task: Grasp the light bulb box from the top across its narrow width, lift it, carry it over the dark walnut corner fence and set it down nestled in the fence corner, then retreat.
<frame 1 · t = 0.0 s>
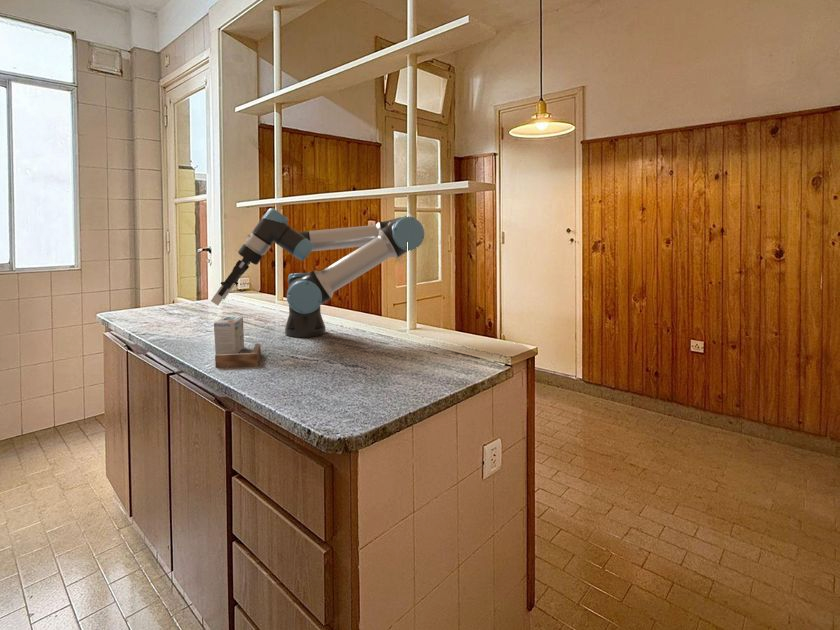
hand: (217, 300, 176), 15 cm above the worktop, tool tilted 35°, fingers open, 13 cm apart
walnut corner fence: (238, 360, 157), on the worktop
light bulb box: (230, 352, 168), on the worktop
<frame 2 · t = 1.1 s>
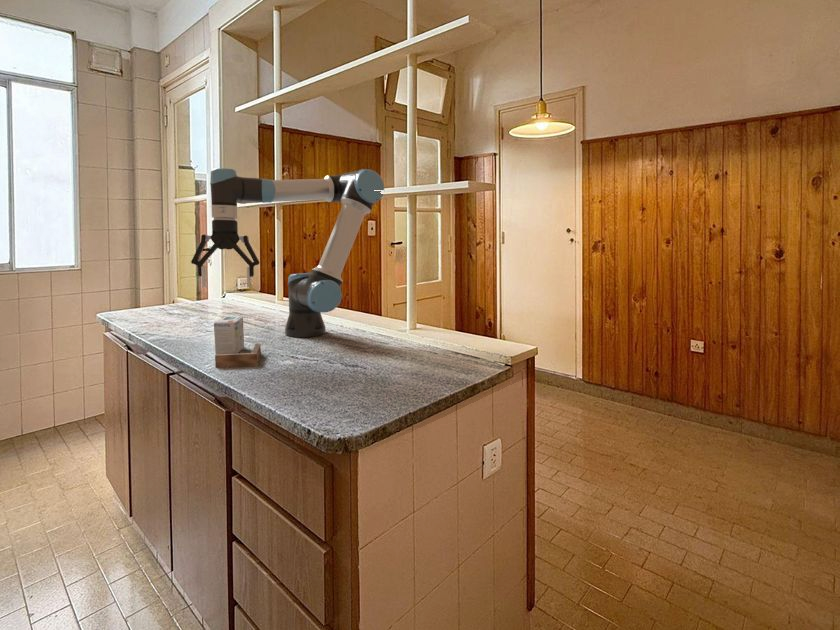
hand: (226, 286, 165), 21 cm above the worktop, tool pointing down, fingers open, 13 cm apart
nothing on the worktop moved.
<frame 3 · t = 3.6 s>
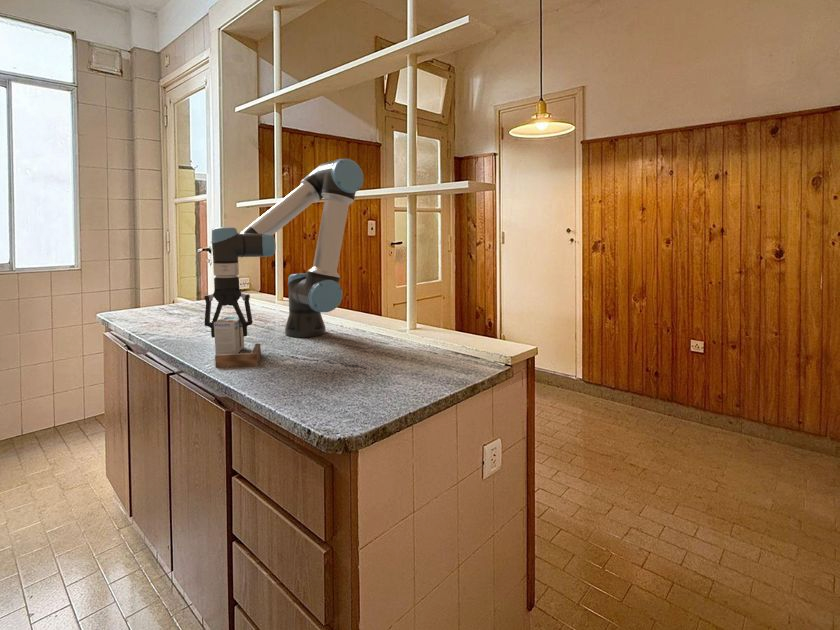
hand: (230, 346, 168), 2 cm above the worktop, tool pointing down, fingers closed on light bulb box, 7 cm apart
light bulb box: (230, 352, 168), on the worktop, touching gripper
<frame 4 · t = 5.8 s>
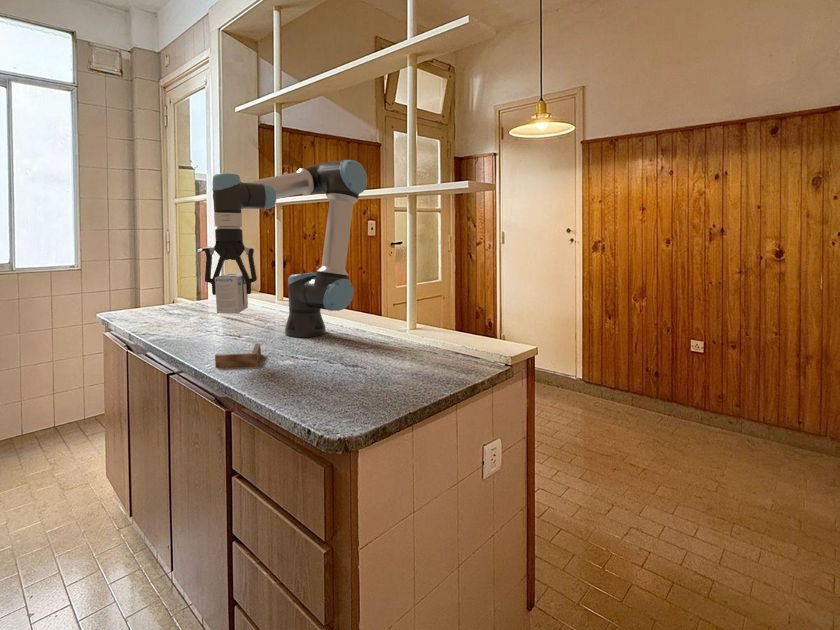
hand: (232, 305, 155), 17 cm above the worktop, tool pointing down, fingers closed on light bulb box, 7 cm apart
light bulb box: (233, 311, 156), point 15 cm above the worktop, touching gripper
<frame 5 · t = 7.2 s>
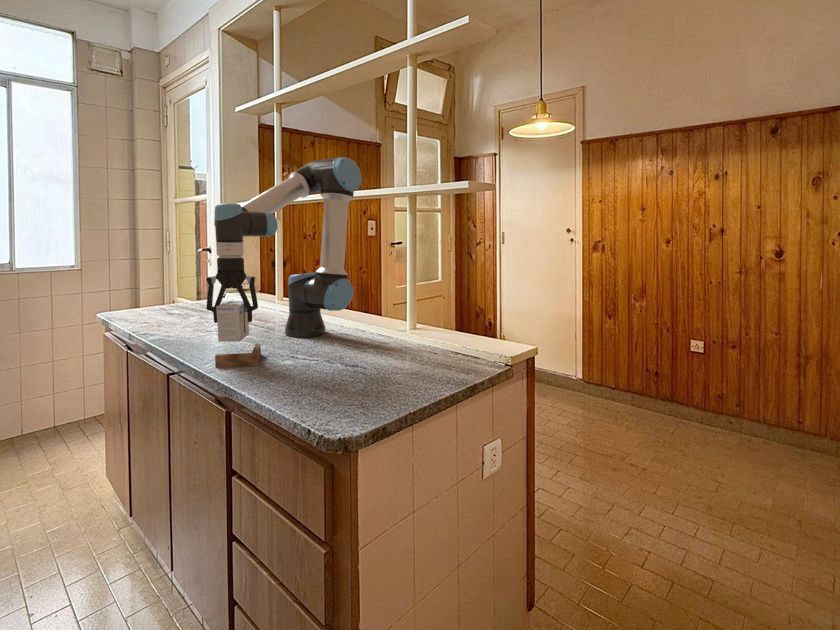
hand: (233, 332, 156), 8 cm above the worktop, tool pointing down, fingers closed on light bulb box, 7 cm apart
light bulb box: (234, 338, 157), point 7 cm above the worktop, touching gripper
when the fingers open (5 cm above the worktop, at t = 8.3 s): light bulb box drops 3 cm, on the worktop.
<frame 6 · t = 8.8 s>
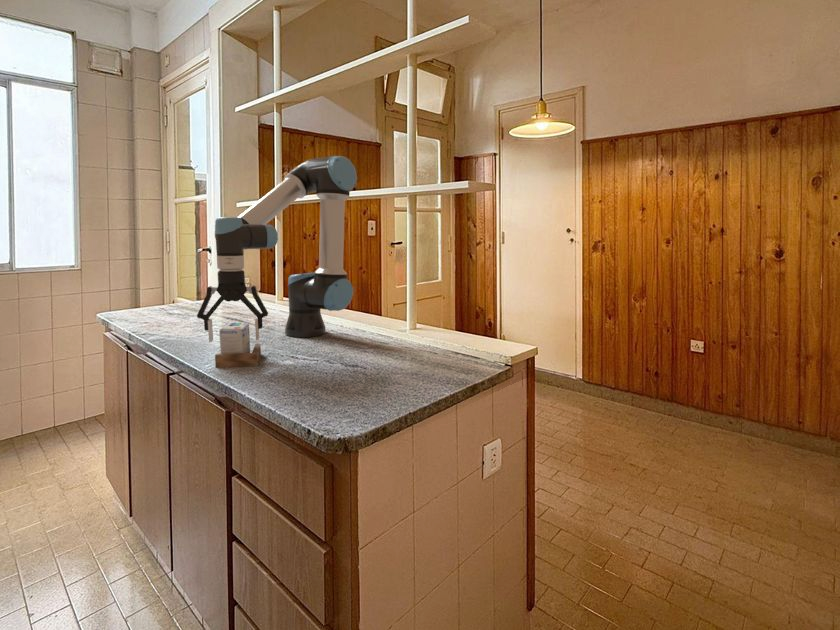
hand: (234, 340, 157), 6 cm above the worktop, tool pointing down, fingers open, 13 cm apart
light bulb box: (236, 360, 158), on the worktop
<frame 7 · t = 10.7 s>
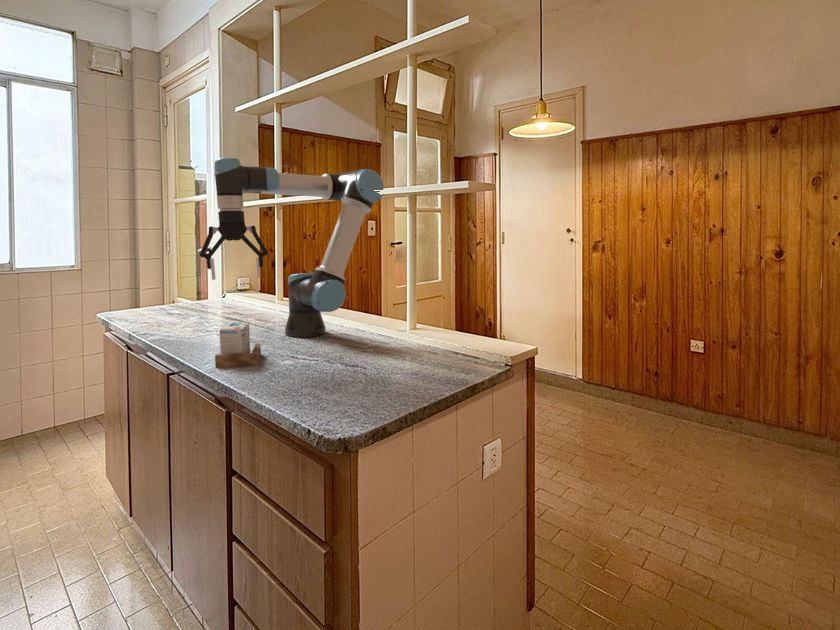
hand: (236, 278, 164), 24 cm above the worktop, tool pointing down, fingers open, 13 cm apart
nothing on the worktop moved.
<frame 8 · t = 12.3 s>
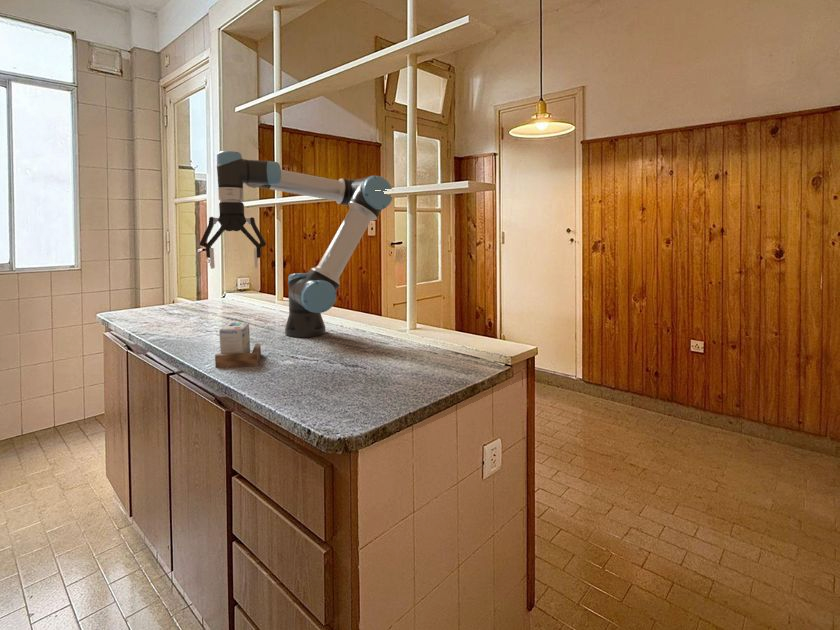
hand: (234, 268, 169), 27 cm above the worktop, tool pointing down, fingers open, 13 cm apart
nothing on the worktop moved.
at the end: light bulb box inside the target area (0.6 cm from its centre), on the worktop; light bulb box tilted 0°; the gripper is holding nothing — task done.
